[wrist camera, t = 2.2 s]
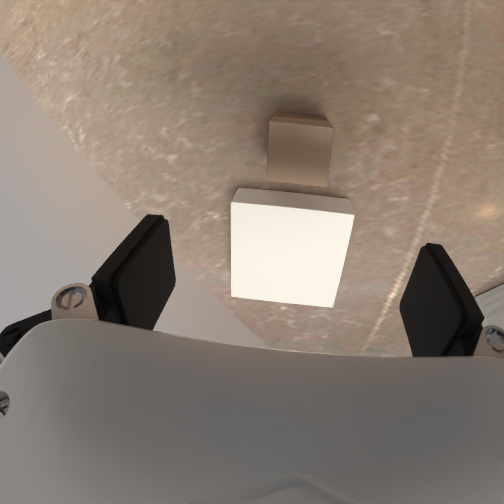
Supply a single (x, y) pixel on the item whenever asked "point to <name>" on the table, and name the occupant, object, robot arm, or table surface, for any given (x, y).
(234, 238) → the base
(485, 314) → the supplement box
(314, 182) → the walnut block
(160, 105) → the table surface
